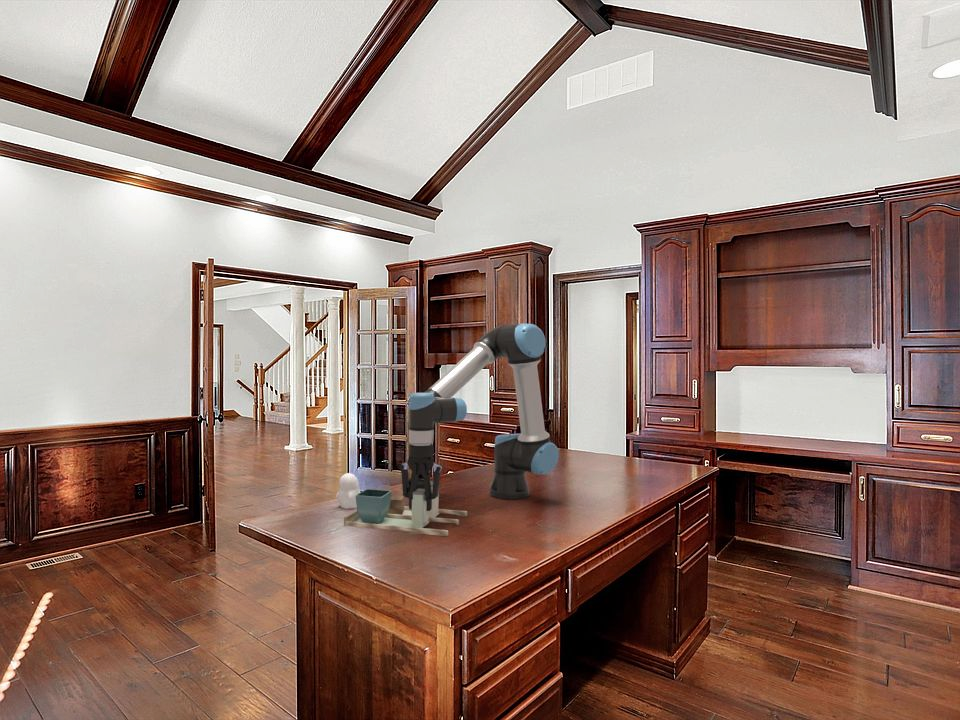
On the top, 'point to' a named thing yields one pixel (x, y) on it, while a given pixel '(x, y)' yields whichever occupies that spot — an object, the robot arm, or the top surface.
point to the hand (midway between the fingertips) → (420, 520)
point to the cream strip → (434, 510)
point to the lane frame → (354, 515)
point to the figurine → (348, 491)
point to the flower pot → (373, 505)
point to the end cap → (418, 484)
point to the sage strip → (417, 513)
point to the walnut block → (396, 505)
